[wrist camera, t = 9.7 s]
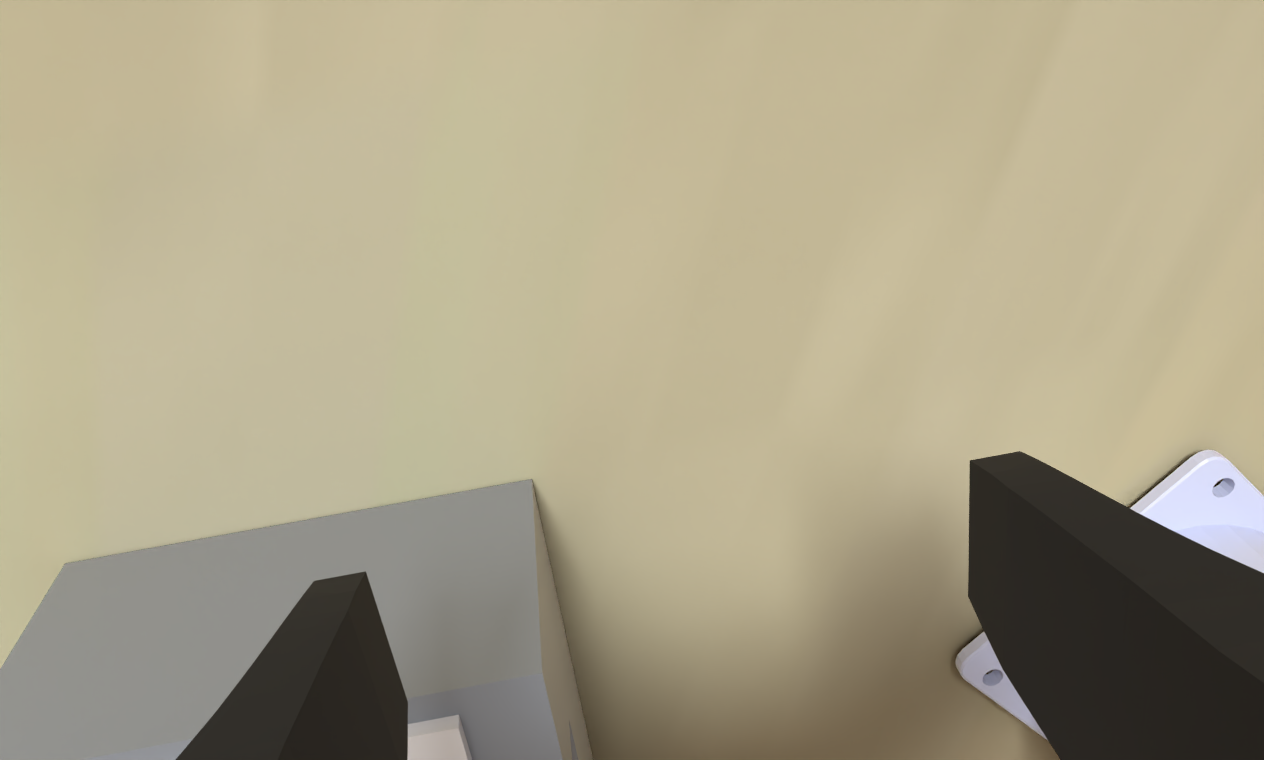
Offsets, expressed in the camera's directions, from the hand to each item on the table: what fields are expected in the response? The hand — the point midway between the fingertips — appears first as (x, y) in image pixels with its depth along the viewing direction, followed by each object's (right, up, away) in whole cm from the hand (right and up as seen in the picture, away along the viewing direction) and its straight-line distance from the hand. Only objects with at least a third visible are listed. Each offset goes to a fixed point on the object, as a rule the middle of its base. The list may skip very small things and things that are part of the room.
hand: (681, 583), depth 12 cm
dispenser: (-7, -6, +13) cm, 16 cm away
